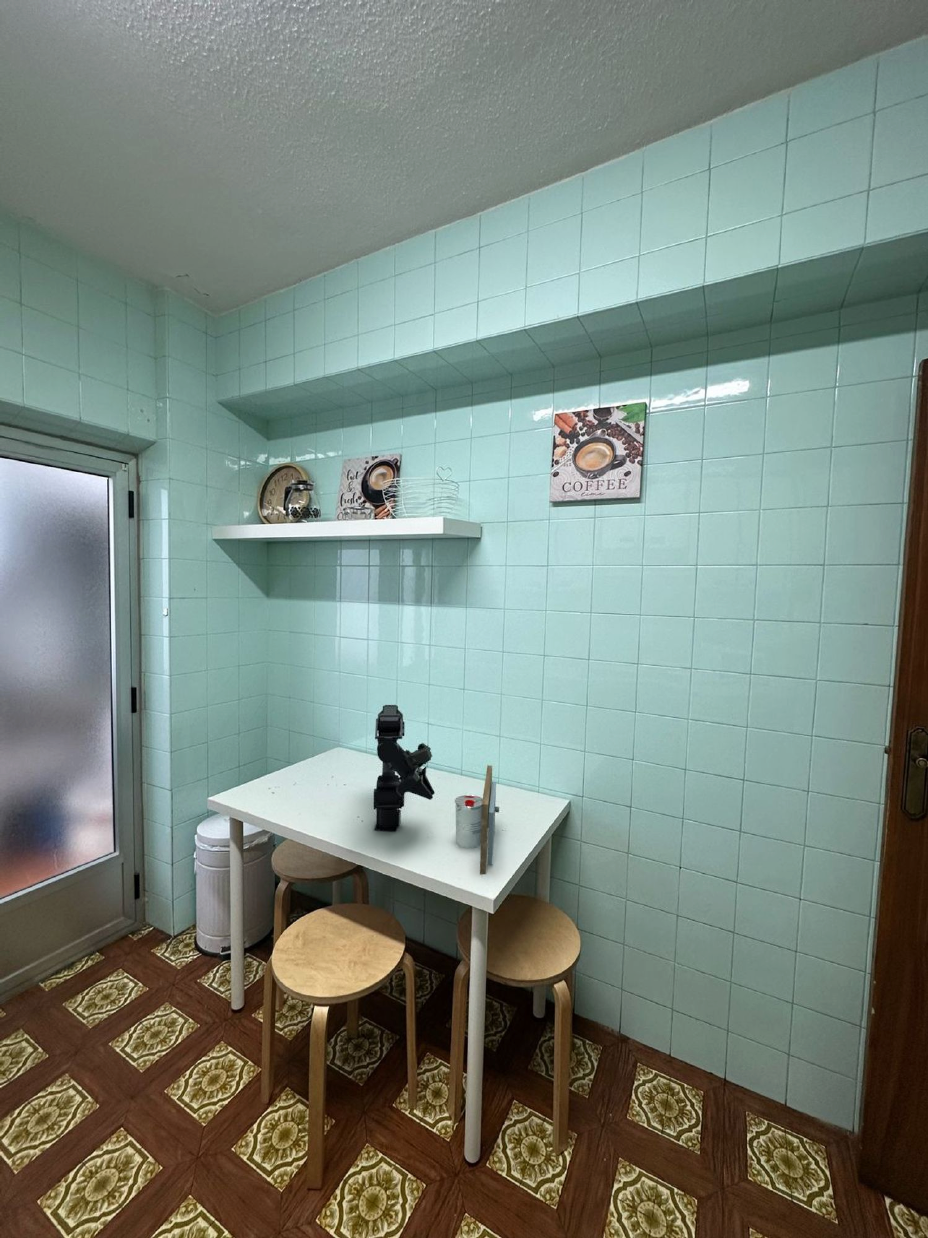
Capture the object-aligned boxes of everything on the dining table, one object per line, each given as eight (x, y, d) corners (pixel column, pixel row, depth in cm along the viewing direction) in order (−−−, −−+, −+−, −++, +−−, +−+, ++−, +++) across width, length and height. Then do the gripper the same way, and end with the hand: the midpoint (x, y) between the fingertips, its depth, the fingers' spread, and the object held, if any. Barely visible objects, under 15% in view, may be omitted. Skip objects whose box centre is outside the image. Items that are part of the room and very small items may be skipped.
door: (487, 865, 132) (488, 812, 131) (490, 827, 153) (492, 782, 152) (496, 866, 132) (498, 813, 131) (498, 828, 153) (500, 782, 152)
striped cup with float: (467, 831, 151) (468, 791, 150) (490, 840, 146) (492, 799, 145) (445, 843, 143) (446, 802, 143) (469, 854, 138) (470, 810, 137)
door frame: (479, 874, 128) (481, 804, 127) (485, 822, 157) (487, 765, 156) (485, 874, 128) (487, 804, 127) (490, 822, 157) (492, 765, 156)
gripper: (409, 747, 135) (449, 790, 135) (421, 728, 154) (456, 766, 153) (379, 774, 136) (419, 817, 136) (395, 753, 155) (430, 790, 154)
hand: (432, 796), depth 145 cm, fingers open, 3 cm apart
